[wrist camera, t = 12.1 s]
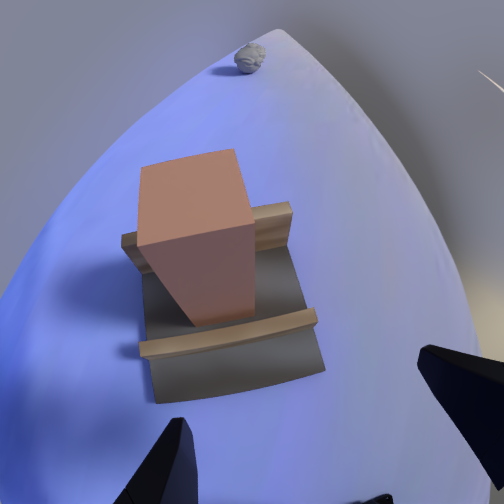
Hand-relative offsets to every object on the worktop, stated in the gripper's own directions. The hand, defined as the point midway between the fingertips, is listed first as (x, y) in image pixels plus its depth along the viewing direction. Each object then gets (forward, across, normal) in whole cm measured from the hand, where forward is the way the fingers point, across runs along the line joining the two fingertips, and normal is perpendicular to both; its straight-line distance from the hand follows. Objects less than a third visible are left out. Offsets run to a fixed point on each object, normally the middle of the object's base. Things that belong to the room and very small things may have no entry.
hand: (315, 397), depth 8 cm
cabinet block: (+16, +3, +2) cm, 16 cm away
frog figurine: (+50, -10, -30) cm, 59 cm away
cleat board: (+15, +3, +4) cm, 16 cm away
